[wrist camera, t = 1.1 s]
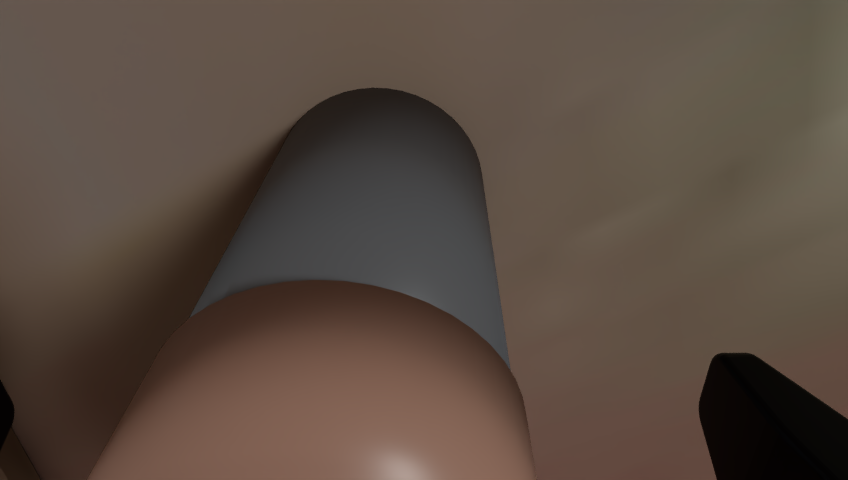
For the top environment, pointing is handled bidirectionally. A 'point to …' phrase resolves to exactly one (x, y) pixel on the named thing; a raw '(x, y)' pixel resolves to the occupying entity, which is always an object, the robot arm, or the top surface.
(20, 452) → the drawing board
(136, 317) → the top surface
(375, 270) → the pink and grey capsule
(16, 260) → the top surface
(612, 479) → the top surface
